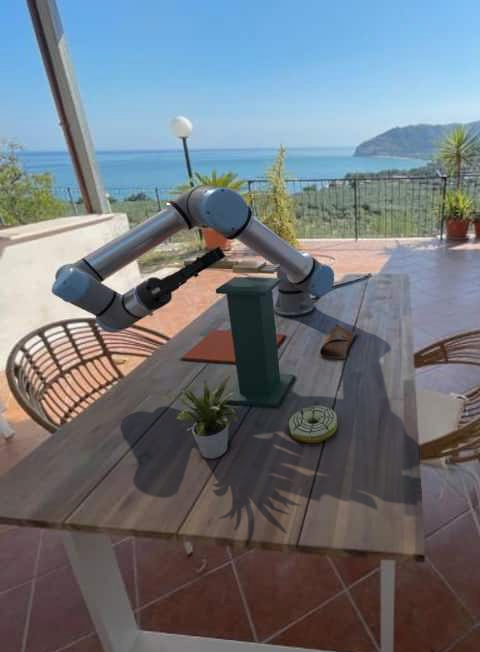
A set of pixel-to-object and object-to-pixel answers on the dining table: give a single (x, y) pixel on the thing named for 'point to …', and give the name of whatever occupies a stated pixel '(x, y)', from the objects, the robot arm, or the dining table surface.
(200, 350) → the mat
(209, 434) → the house plant
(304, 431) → the decorated donut
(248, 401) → the stand
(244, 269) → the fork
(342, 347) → the sunglasses case
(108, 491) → the dining table surface
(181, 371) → the dining table surface
